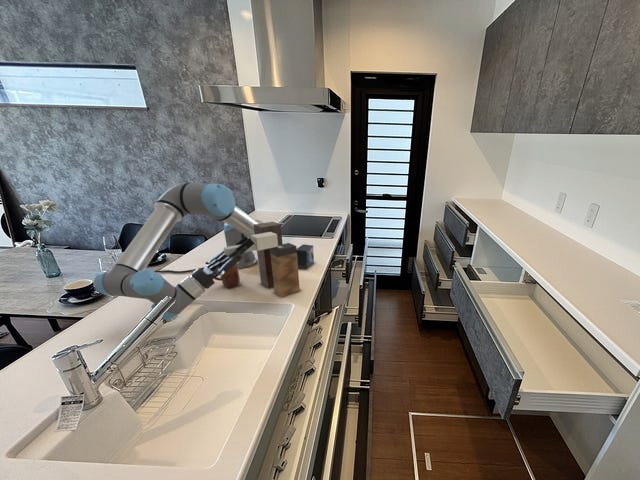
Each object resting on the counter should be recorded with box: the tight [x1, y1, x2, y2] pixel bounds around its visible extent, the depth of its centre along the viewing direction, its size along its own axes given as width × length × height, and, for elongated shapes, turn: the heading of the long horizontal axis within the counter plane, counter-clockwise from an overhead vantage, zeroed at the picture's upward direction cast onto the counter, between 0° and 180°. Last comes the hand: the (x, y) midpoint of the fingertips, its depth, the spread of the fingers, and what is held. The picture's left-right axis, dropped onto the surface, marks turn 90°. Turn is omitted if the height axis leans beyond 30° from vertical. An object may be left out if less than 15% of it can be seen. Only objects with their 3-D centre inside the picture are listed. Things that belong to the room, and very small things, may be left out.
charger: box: [223, 232, 278, 256], centre depth 116 cm, size 20×5×5 cm, turn 135°
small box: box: [296, 243, 315, 270], centre depth 161 cm, size 11×6×10 cm, turn 168°
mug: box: [213, 263, 241, 289], centre depth 136 cm, size 12×9×10 cm
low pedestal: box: [270, 253, 301, 298], centre depth 131 cm, size 9×6×18 cm, turn 135°
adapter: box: [270, 242, 298, 257], centre depth 126 cm, size 9×6×3 cm, turn 135°
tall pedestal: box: [254, 221, 283, 289], centre depth 136 cm, size 9×7×28 cm
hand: (249, 239), depth 115 cm, fingers closed on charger, 3 cm apart
